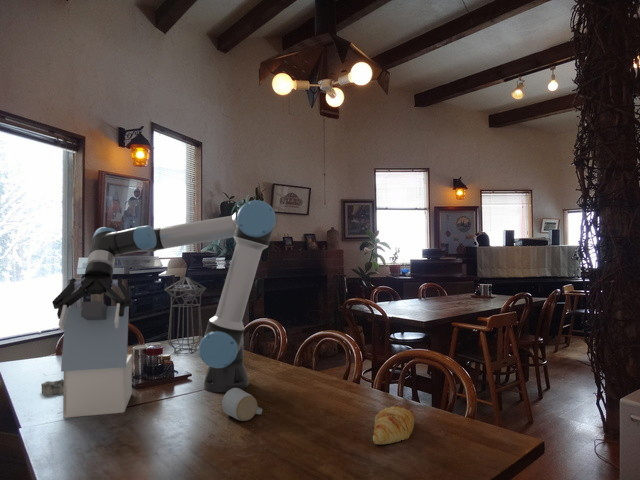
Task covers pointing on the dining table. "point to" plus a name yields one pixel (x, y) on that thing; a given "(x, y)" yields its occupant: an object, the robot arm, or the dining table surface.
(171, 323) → the geometric lantern
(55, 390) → the grey piece
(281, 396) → the dining table surface
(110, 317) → the lid
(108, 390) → the storage box
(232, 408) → the ceramic mug
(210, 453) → the dining table surface
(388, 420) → the croissant
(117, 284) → the robot arm
